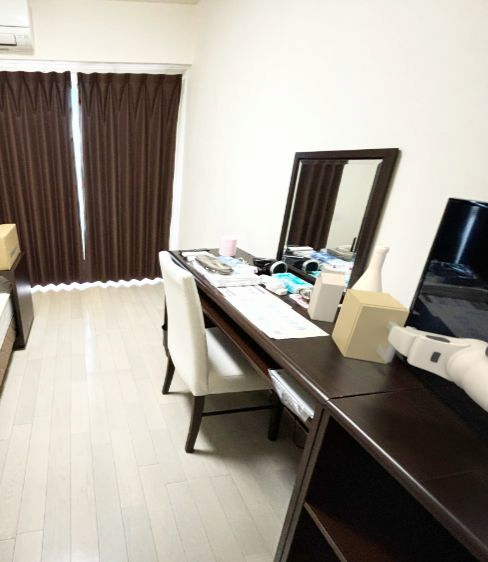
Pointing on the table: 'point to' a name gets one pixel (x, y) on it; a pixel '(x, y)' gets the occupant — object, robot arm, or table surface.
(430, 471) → the table surface
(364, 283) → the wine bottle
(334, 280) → the milk carton
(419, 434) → the table surface
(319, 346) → the table surface
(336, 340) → the fridge
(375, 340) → the fridge door
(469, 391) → the robot arm
